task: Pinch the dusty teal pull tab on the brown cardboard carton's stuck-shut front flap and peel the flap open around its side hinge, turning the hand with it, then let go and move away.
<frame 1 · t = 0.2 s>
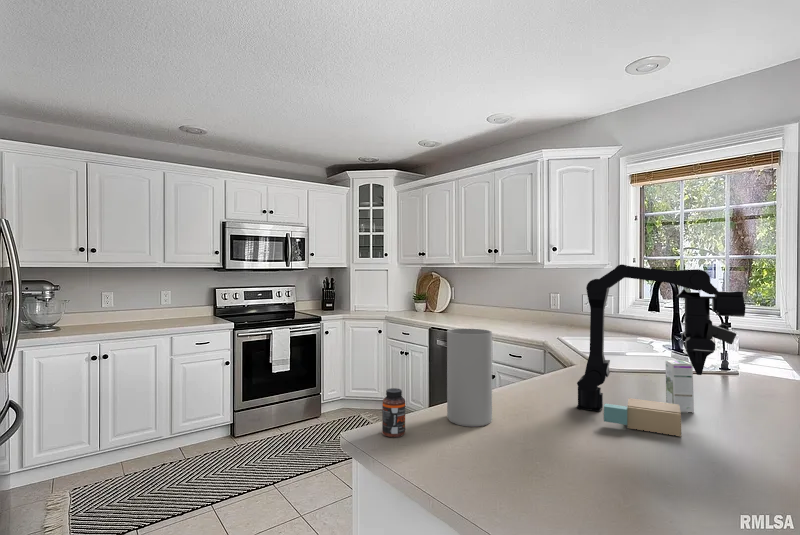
hand: (697, 371, 119), 14 cm above the counter, tool pointing down, fingers open, 9 cm apart
carton: (653, 427, 116), on the counter
carton flap: (641, 420, 112), point 3 cm above the counter, hinge at 0.0°
cylinder vase: (469, 420, 122), on the counter
syrup box: (679, 410, 131), on the counter
supplement bottle: (393, 434, 111), on the counter
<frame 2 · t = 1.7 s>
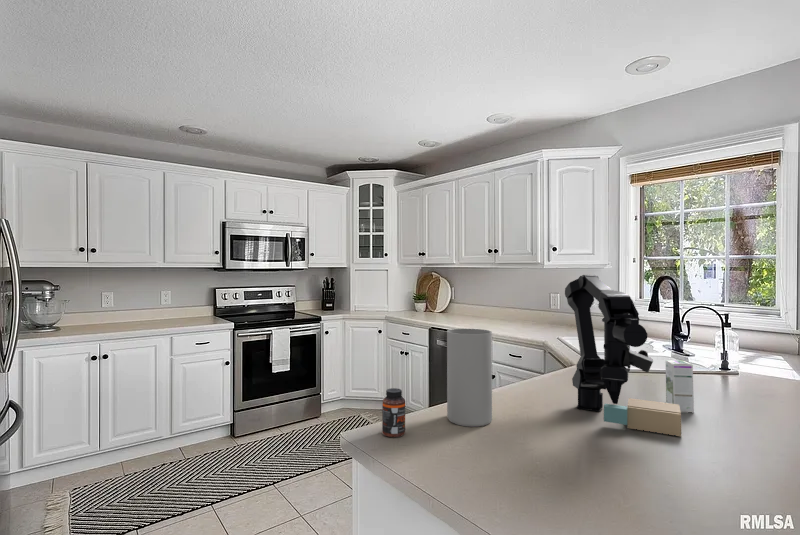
hand: (616, 399, 115), 8 cm above the counter, tool pointing down, fingers open, 9 cm apart
nothing on the counter moved.
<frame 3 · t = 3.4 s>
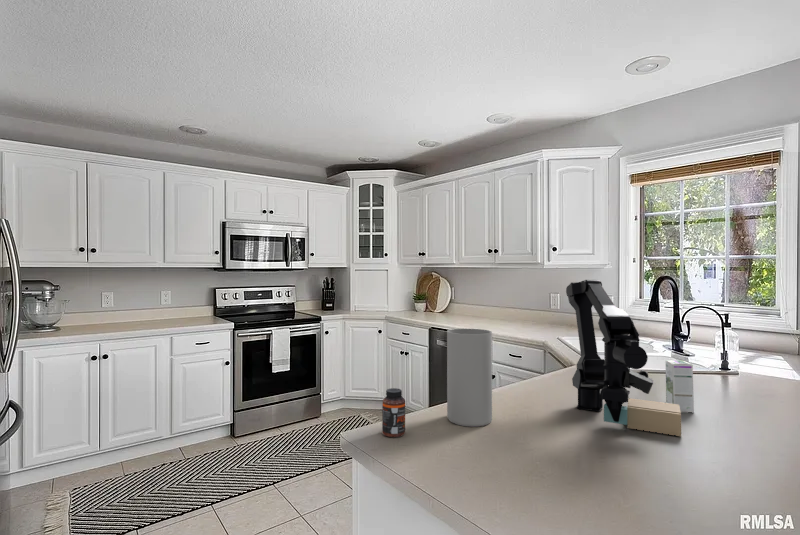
hand: (616, 419, 115), 2 cm above the counter, tool pointing down, fingers closed on carton flap, 3 cm apart
carton flap: (641, 420, 112), point 3 cm above the counter, hinge at 0.0°, touching gripper
everything else where it was.
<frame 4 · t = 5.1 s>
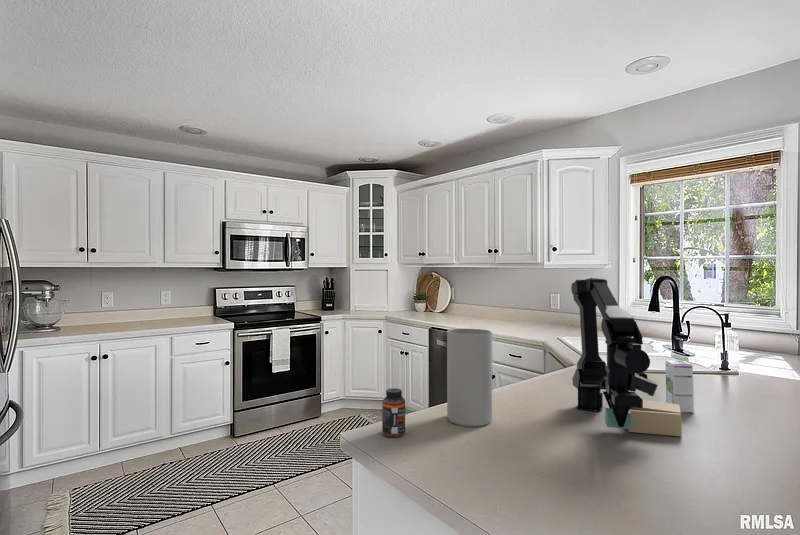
hand: (619, 424, 112), 2 cm above the counter, tool pointing down, fingers open, 3 cm apart
carton flap: (643, 423, 110), point 3 cm above the counter, hinge at 14.0°, touching gripper
everything else where it was.
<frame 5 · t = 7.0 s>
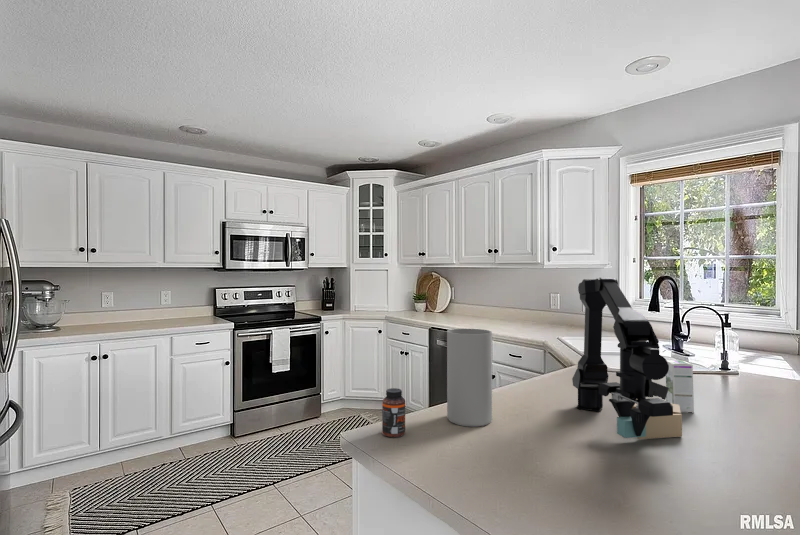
hand: (632, 433, 105), 2 cm above the counter, tool pointing down, fingers open, 3 cm apart
carton flap: (653, 428, 106), point 3 cm above the counter, hinge at 38.7°, touching gripper
everything else where it was.
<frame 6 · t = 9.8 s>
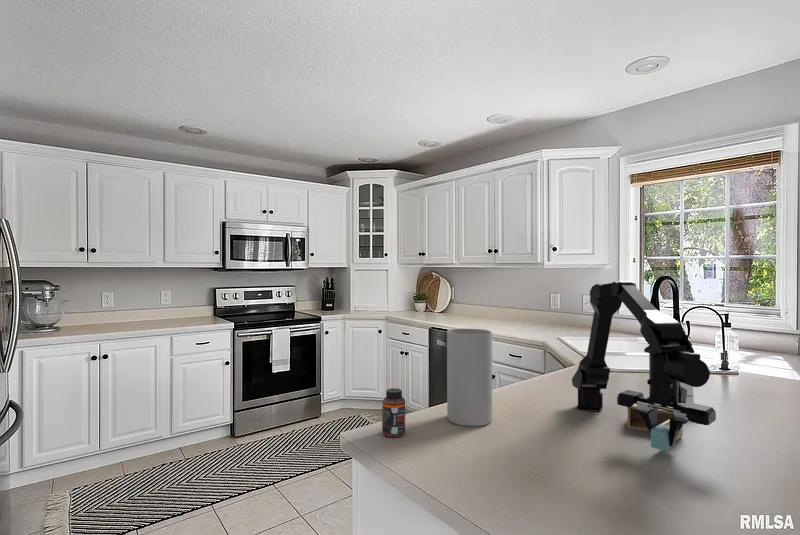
hand: (663, 443, 99), 2 cm above the counter, tool pointing down, fingers closed on carton flap, 3 cm apart
carton flap: (673, 434, 103), point 3 cm above the counter, hinge at 68.7°, touching gripper
everything else where it was.
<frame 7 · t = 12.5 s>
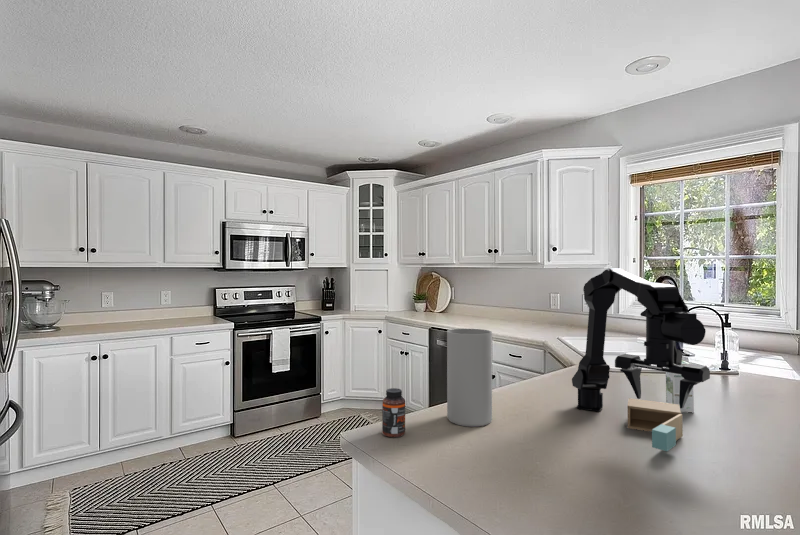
hand: (659, 403, 102), 11 cm above the counter, tool pointing down, fingers open, 9 cm apart
carton flap: (673, 434, 102), point 3 cm above the counter, hinge at 69.5°
everything else where it was.
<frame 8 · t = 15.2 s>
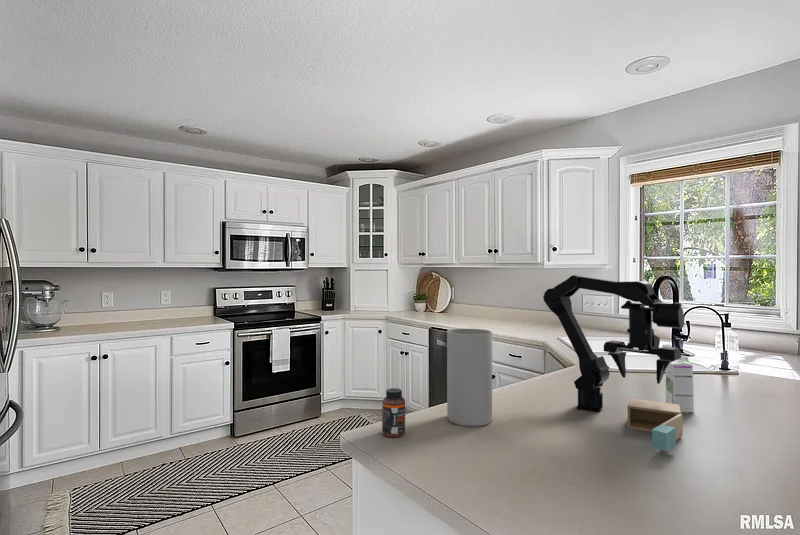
hand: (640, 380, 123), 11 cm above the counter, tool pointing down, fingers open, 9 cm apart
nothing on the counter moved.
at the end: carton flap at +70° (first picture: +0°); the gripper is holding nothing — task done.
